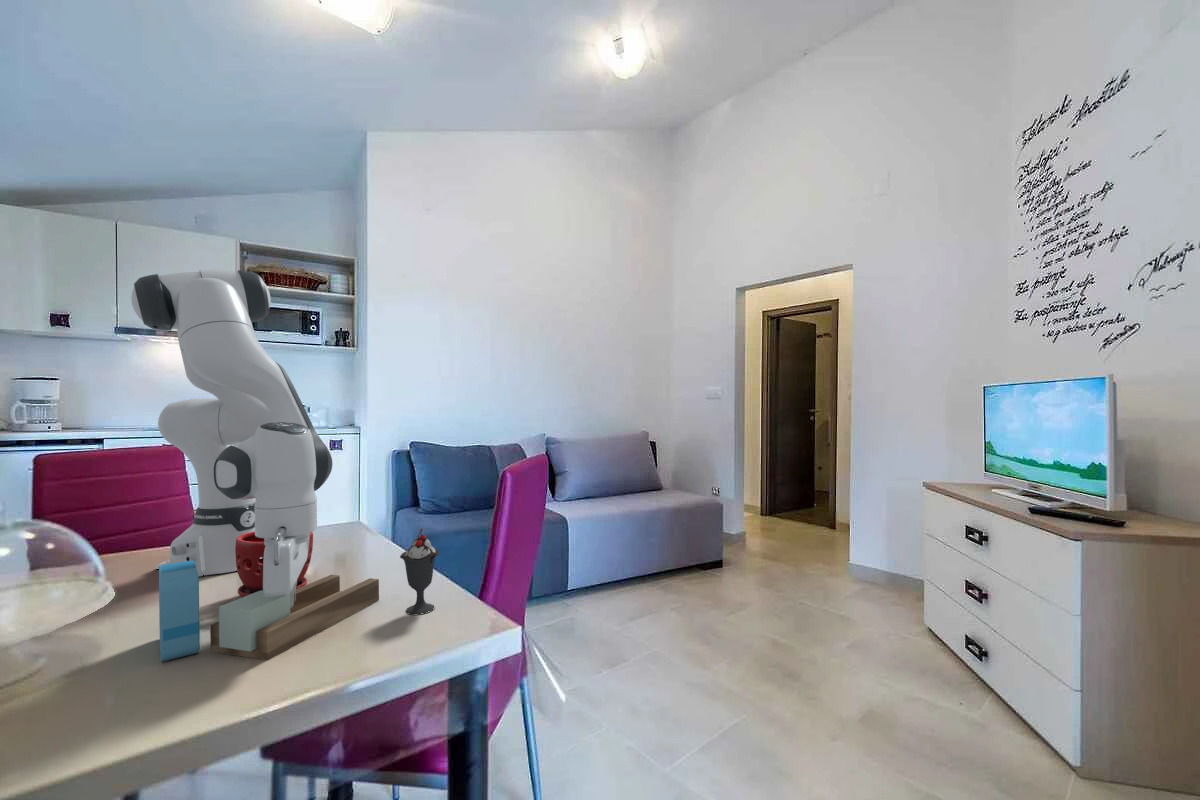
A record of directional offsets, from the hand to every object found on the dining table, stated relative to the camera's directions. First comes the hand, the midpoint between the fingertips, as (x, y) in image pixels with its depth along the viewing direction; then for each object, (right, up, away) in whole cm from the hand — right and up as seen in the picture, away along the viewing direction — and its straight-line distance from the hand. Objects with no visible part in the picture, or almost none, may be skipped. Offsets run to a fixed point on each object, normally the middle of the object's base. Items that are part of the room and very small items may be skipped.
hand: (288, 606), depth 87 cm
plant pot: (-13, -5, +18) cm, 22 cm away
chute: (+1, -4, +4) cm, 5 cm away
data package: (-14, -5, -5) cm, 16 cm away
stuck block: (-2, -3, -5) cm, 6 cm away
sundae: (+19, -4, +9) cm, 21 cm away
